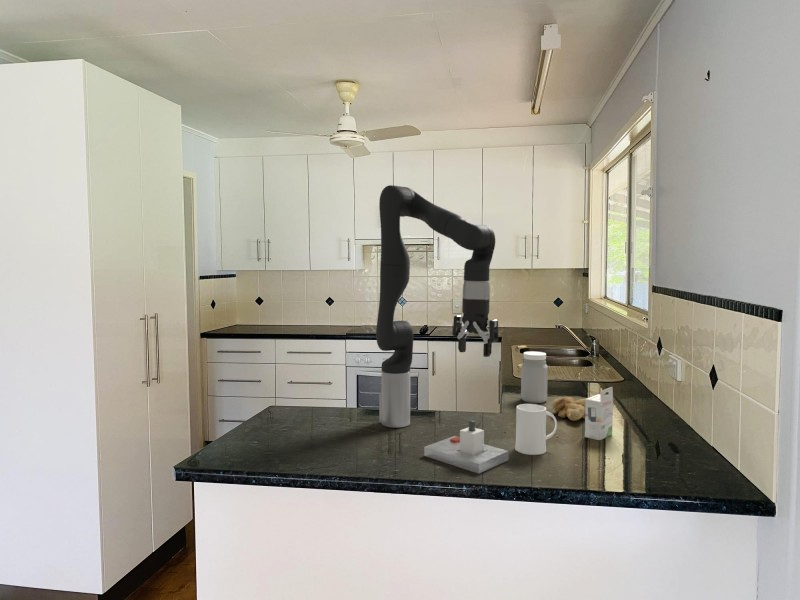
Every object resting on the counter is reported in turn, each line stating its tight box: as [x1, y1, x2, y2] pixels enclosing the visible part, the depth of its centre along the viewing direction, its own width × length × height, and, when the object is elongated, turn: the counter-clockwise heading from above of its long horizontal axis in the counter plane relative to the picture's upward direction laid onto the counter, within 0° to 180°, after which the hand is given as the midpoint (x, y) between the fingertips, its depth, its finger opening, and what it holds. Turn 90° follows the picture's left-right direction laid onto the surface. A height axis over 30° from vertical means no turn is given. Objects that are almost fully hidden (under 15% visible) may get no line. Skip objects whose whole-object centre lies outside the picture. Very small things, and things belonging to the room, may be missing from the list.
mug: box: [514, 403, 558, 456], centre depth 153 cm, size 12×8×12 cm
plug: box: [459, 419, 485, 456], centre depth 146 cm, size 4×4×10 cm
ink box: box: [584, 386, 614, 441], centre depth 166 cm, size 9×5×15 cm, turn 134°
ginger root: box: [552, 396, 588, 422], centre depth 187 cm, size 16×16×8 cm
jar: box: [520, 350, 549, 404], centre depth 208 cm, size 10×10×18 cm
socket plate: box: [423, 435, 509, 474], centre depth 147 cm, size 18×13×3 cm
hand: (474, 354), depth 156 cm, fingers open, 8 cm apart
